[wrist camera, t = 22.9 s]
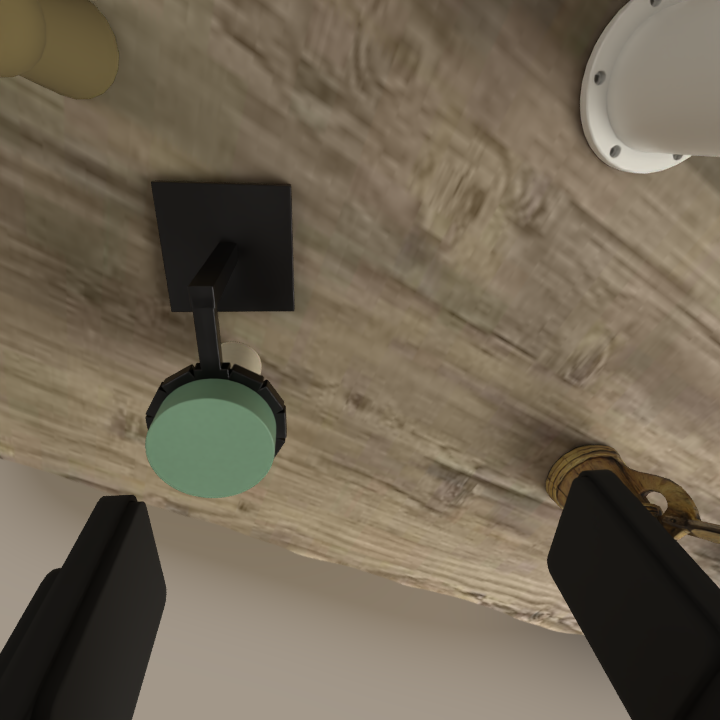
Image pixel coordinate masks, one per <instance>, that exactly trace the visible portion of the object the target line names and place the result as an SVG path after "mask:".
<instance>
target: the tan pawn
mask: <svg viewBox="0 0 720 720" xmlns="http://www.w3.org/2000/svg"><path fill="white" fill-rule="evenodd" d="M118 62H119V52H118V48H117V43H116V39H115V35H114V33H113V32H112V30H111V28H110V26H109V24H108V22H107V20H106V18H105V17H104V16H103V15H102V14H101V12H100V11H99V10H98V9H97V8H96V7H95V5H94V4H93V3H91V2H90V1H88V0H0V77H14V76H17V75H20V76H22V77H24V78H26V79H28V80H31V81H33V82H35V83H37V84H39V85H41V86H43V87H45V88H48V89H50V90H52V91H54V92H56V93H58V94H60V95H63V96H67V97H70V98H74V99H91V98H94V97H96V96H98V95H101V94H103V93H104V92H105V91H106V90H107V89H108V88H109V87H110V86H111V85H112V84H113V82H114V79H115V76H116V74H117V71H118Z"/></svg>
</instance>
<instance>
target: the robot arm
mask: <svg viewBox="0 0 720 720" xmlns="http://www.w3.org/2000/svg"><path fill="white" fill-rule="evenodd" d="M594 77H595V82H594ZM580 114H581V122H582V126H583V131H584V135H585V137H586V139H587V141H588V143H589V145H590V147H591V149H592V150H593V151H594V153H595V154H596V155H597V156H598V158H599V159H601V160H602V161H603V162H604V163H606V164H607V165H608V166H610V167H613V168H615V169H617V170H620V171H624V172H630V173H645V174H647V173H653V172H658V171H662V170H665V169H668V168H670V167H673V166H675V165H677V164H679V163H680V162H682V161H684V160H686V159H687V158H689V157H690V156H692V155H696V156H713V157H720V0H630V1H629V2H628V3H627V4H626V5H625V6H624V7H623V8H621V9H620V10H619V11H618V12H617V14H616V15H615V16H614V17H613V19H612V20H611V21H610V22H609V24H608V25H607V26H606V27H605V29H604V31H603V32H602V34H601V36H600V38H599V39H598V41H597V43H596V44H595V46H594V49H593V51H592V53H591V56H590V58H589V60H588V63H587V66H586V70H585V73H584V77H583V81H582V87H581V96H580ZM610 150H611V151H610ZM547 564H548V569H549V572H550V574H551V576H552V578H553V580H554V581H555V583H556V585H557V587H558V589H559V590H560V592H561V594H562V596H563V598H564V599H565V601H566V603H567V605H568V606H569V608H570V610H571V612H572V614H573V615H574V617H575V619H576V621H577V623H578V624H579V626H580V628H581V630H582V631H583V633H584V635H585V637H586V639H587V640H588V642H589V644H590V646H591V647H592V649H593V651H594V653H595V655H596V656H597V658H598V660H599V662H600V663H601V665H602V667H603V669H604V671H605V673H606V674H607V676H608V678H609V680H610V681H611V683H612V685H613V687H614V689H615V690H616V692H617V694H618V696H619V698H620V699H621V701H622V703H623V705H624V706H625V708H626V710H627V712H628V714H629V716H630V717H631V719H632V720H720V589H719V587H718V586H717V585H716V584H715V583H714V582H713V581H712V580H711V579H710V578H709V576H708V575H707V574H706V573H705V572H704V571H703V570H702V569H701V568H700V567H699V565H698V564H697V563H696V562H695V561H694V560H693V559H692V558H691V557H690V556H689V554H688V553H687V552H686V551H685V550H684V549H683V548H682V547H681V546H680V545H679V543H678V542H677V541H676V540H675V539H674V538H673V537H672V536H671V535H670V534H669V532H668V531H667V530H666V529H665V528H664V527H663V526H662V525H661V524H660V523H659V522H658V520H657V519H656V518H655V517H654V516H653V515H652V514H651V513H650V512H649V511H648V509H647V508H646V507H645V506H644V505H643V504H642V503H641V502H640V501H639V500H638V498H637V497H636V496H635V495H634V494H633V493H632V492H631V491H630V490H629V489H628V487H627V486H626V485H625V484H624V483H623V482H622V481H621V480H620V479H619V478H618V476H617V475H616V474H615V473H613V472H612V471H611V470H608V469H604V470H585V471H582V472H580V474H579V476H578V477H577V478H575V479H573V481H572V484H571V487H570V490H569V493H568V496H567V499H566V502H565V505H564V508H563V511H562V514H561V517H560V520H559V524H558V527H557V530H556V533H555V536H554V539H553V542H552V545H551V548H550V551H549V554H548V558H547ZM165 602H166V585H165V580H164V576H163V572H162V569H161V564H160V561H159V556H158V552H157V548H156V544H155V540H154V536H153V532H152V528H151V523H150V519H149V515H148V511H147V507H146V504H145V502H137V499H136V497H135V496H134V495H119V496H103V497H102V498H100V500H99V501H98V502H97V504H96V506H95V508H94V510H93V512H92V513H91V515H90V517H89V519H88V521H87V523H86V524H85V526H84V528H83V530H82V532H81V533H80V535H79V537H78V539H77V541H76V543H75V544H74V546H73V548H72V550H71V552H70V554H69V555H68V557H67V559H66V561H65V563H64V564H63V566H62V568H58V569H54V570H52V571H51V572H50V573H48V574H47V575H46V577H45V578H44V580H43V581H42V582H41V584H40V586H39V588H38V589H37V591H36V593H35V594H34V596H33V598H32V600H31V601H30V603H29V605H28V606H27V608H26V610H25V612H24V613H23V615H22V617H21V619H20V620H19V622H18V624H17V626H16V627H15V629H14V631H13V633H12V635H11V636H10V638H9V639H8V641H7V643H6V645H5V646H4V648H3V650H2V652H1V653H0V720H132V717H133V714H134V710H135V707H136V703H137V700H138V696H139V693H140V690H141V686H142V683H143V679H144V676H145V672H146V669H147V665H148V662H149V658H150V655H151V651H152V648H153V645H154V641H155V638H156V634H157V631H158V627H159V624H160V620H161V617H162V613H163V610H164V606H165Z"/></svg>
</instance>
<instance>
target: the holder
mask: <svg viewBox="0 0 720 720" xmlns="http://www.w3.org/2000/svg"><path fill="white" fill-rule="evenodd" d="M151 186H152V192H153V199H154V205H155V211H156V217H157V224H158V230H159V236H160V242H161V249H162V255H163V261H164V267H165V274H166V280H167V286H168V292H169V299H170V305H171V311H172V312H193V316H194V323H195V330H196V338H197V345H198V352H199V360H200V363H196V366H195V367H194V366H193V365H190V366H188V367H186V368H184V369H182V370H180V371H179V372H177V373H175V374H173V375H171V376H170V377H168V378H166V379H165V380H164V382H162V383H161V385H160V387H159V388H158V390H157V392H156V394H155V396H154V398H153V400H152V402H151V404H150V406H149V408H148V410H147V412H146V415H147V416H146V423H147V428H148V430H149V428H150V426H151V424H152V422H153V420H154V418H155V416H156V414H157V412H158V410H159V408H160V406H161V404H162V403H163V401H164V400H165V399H166V397H167V396H168V395H169V394H171V393H172V392H173V391H174V390H176V389H177V388H179V387H181V386H183V385H185V384H187V383H190V382H193V381H197V380H202V379H224V380H230V381H234V382H237V383H240V384H242V385H244V386H246V387H248V388H250V389H252V390H253V391H255V392H256V393H257V394H259V395H260V396H261V397H262V398H263V399H264V400H265V401H266V403H267V404H268V405H269V407H270V408H271V410H272V412H273V415H274V418H275V421H276V442H275V455H274V458H275V456H276V455H277V453H278V452H279V450H280V449H281V447H282V446H283V444H284V443H285V438H286V436H287V424H286V406H285V405H284V401H283V400H282V398H281V397H280V396H279V394H278V393H277V392H276V390H275V389H274V388H273V386H272V385H271V384H270V382H269V381H268V380H265V381H263V380H264V377H263V376H261V375H259V374H257V373H255V372H253V371H250V370H248V369H246V368H244V367H242V366H239V365H237V364H234V365H233V367H232V368H231V364H230V362H223V357H222V348H221V339H220V330H219V321H218V312H238V311H294V309H295V306H294V270H293V234H292V198H291V185H290V184H259V183H226V182H192V181H158V180H155V181H152V182H151Z"/></svg>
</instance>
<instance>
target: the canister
mask: <svg viewBox="0 0 720 720" xmlns="http://www.w3.org/2000/svg"><path fill="white" fill-rule="evenodd" d="M221 348H222V357H223V362H230V364H231V368H232V367H233V365H234V364H237V365H239V366H242V367H244V368H246V369H248V370H250V371H253V372H255V373H257V374H259V375H261V368H262V365H261V360H260V357H259V356H258V354H257V353H256V351H255V350H254V349H252V348H251V347H250V346H248V345H246V344H244V343H240V342H225V343H222V344H221ZM275 442H276V421H275V418H274V415H273V412H272V410H271V408H270V407H269V405H268V404H267V403H266V401H265V400H264V399H263V398H262V397H261V396H260V395H259V394H257V393H256V392H255V391H253V390H252V389H250V388H248V387H246V386H244V385H242V384H240V383H237V382H234V381H230V380H224V379H202V380H197V381H193V382H190V383H187V384H185V385H183V386H181V387H179V388H177V389H176V390H174V391H173V392H172V393H171V394H169V395H168V396H167V397H166V399H165V400H164V401H163V403H162V404H161V406H160V408H159V410H158V412H157V414H156V416H155V418H154V420H153V422H152V424H151V426H150V428H149V430H148V433H147V436H146V443H145V448H146V455H147V458H148V461H149V463H150V465H151V467H152V469H153V470H154V471H155V473H156V474H157V475H158V476H159V477H160V478H161V479H162V480H163V481H164V482H165V483H167V484H168V485H170V486H171V487H173V488H175V489H177V490H179V491H181V492H183V493H186V494H189V495H193V496H198V497H204V498H222V497H228V496H233V495H236V494H240V493H242V492H244V491H247V490H248V489H250V488H252V487H254V486H255V485H256V484H258V483H259V482H260V481H261V480H262V479H263V478H264V477H265V475H266V474H267V473H268V471H269V469H270V468H271V466H272V463H273V460H274V455H275Z"/></svg>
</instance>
